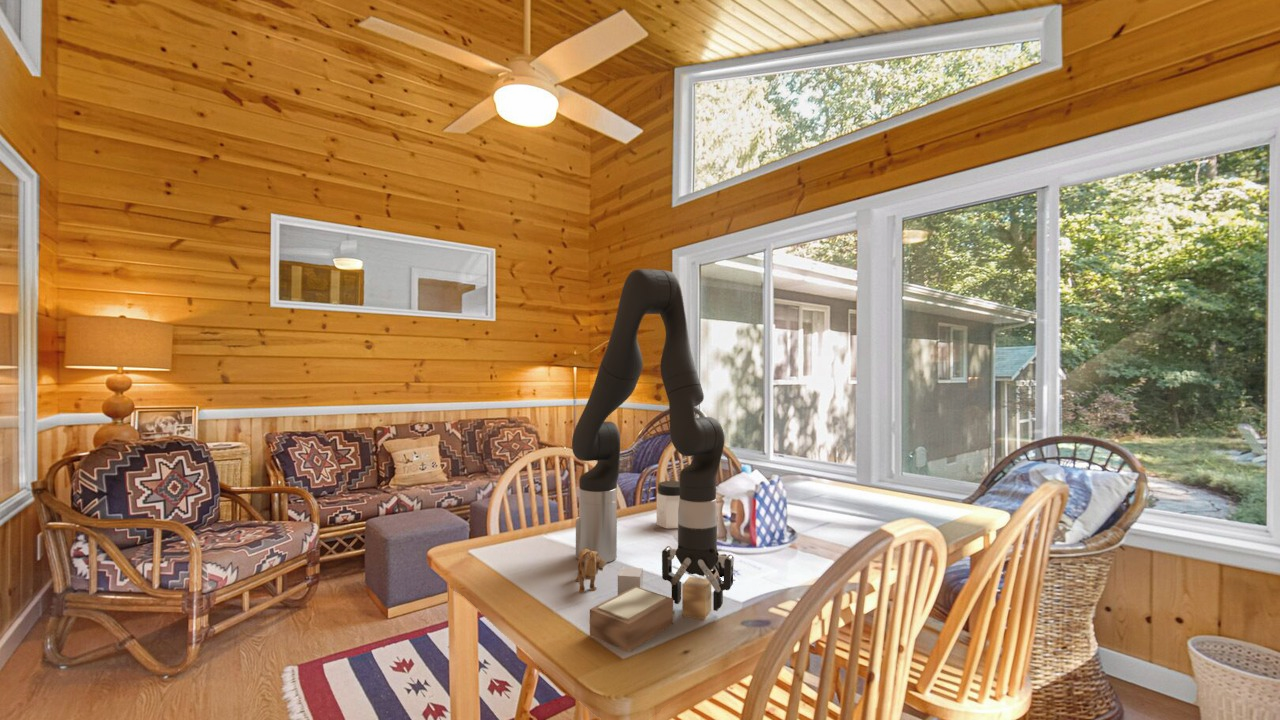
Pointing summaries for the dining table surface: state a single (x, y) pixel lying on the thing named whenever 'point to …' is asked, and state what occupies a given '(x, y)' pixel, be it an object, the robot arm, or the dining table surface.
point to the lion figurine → (588, 568)
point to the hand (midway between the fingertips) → (696, 605)
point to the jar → (668, 504)
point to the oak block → (696, 598)
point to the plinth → (631, 618)
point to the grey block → (629, 579)
